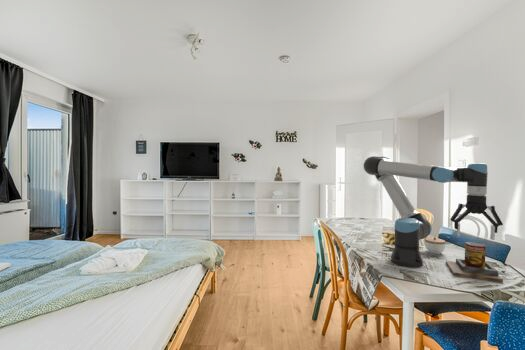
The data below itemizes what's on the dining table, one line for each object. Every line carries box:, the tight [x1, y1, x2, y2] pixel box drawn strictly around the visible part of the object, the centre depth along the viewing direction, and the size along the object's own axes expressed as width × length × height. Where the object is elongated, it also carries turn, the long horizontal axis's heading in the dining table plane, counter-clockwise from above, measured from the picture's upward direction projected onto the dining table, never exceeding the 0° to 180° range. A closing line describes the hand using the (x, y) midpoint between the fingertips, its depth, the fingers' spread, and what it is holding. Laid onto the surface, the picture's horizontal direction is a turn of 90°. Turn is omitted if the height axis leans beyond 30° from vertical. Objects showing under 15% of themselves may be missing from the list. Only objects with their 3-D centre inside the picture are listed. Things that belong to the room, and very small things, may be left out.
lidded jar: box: [424, 236, 446, 255], centre depth 159 cm, size 11×11×9 cm
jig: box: [445, 258, 504, 283], centre depth 128 cm, size 18×18×4 cm
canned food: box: [464, 241, 486, 269], centre depth 129 cm, size 8×8×12 cm
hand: (474, 237), depth 129 cm, fingers open, 13 cm apart
